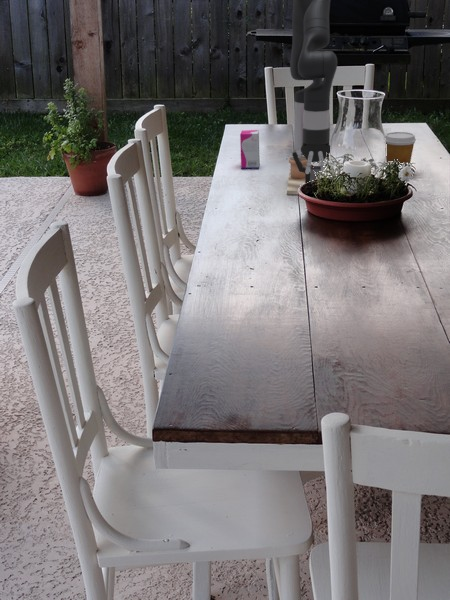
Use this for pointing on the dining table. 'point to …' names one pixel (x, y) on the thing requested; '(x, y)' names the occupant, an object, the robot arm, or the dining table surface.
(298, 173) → the terracotta pot
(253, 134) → the supplement box
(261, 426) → the dining table surface
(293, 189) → the birch board
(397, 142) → the disposable coffee cup
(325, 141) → the robot arm
